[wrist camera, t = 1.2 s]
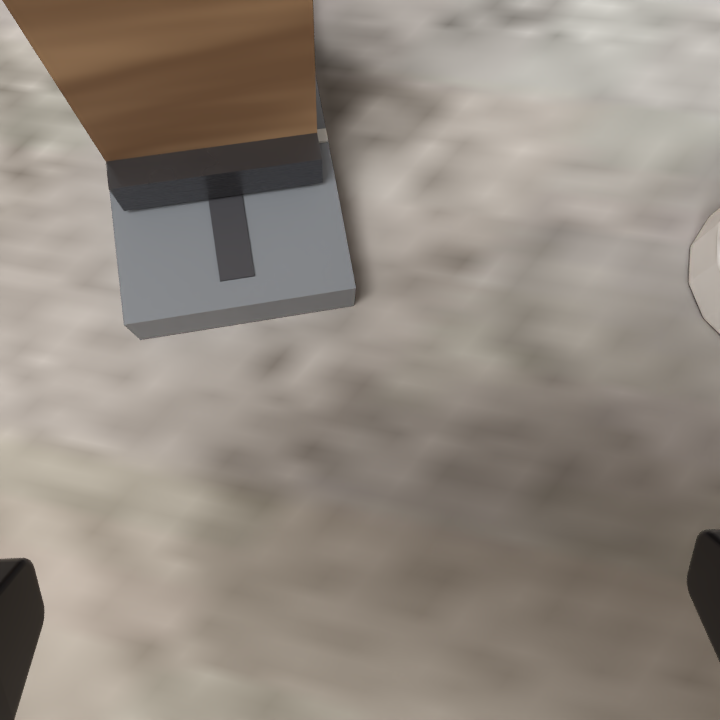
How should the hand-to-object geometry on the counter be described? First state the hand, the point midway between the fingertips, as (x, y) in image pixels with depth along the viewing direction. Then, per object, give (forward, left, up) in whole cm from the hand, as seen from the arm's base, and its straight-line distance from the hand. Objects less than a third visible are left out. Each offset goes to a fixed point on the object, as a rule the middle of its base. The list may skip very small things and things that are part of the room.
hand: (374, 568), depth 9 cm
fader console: (+8, +13, -14) cm, 21 cm away
